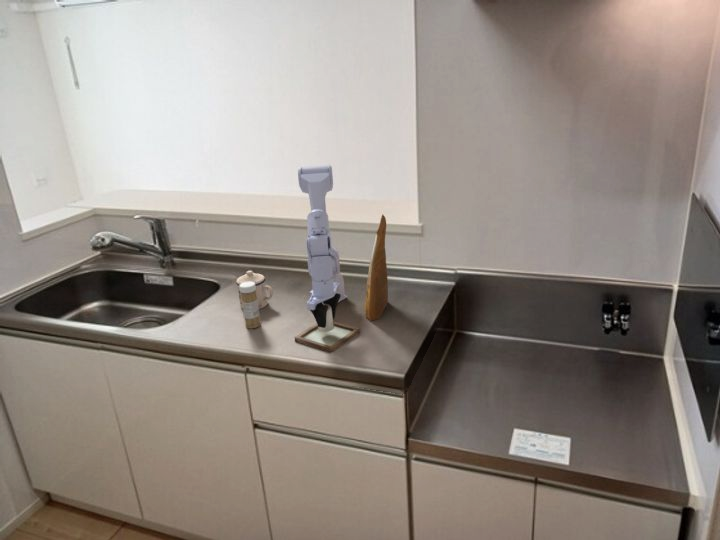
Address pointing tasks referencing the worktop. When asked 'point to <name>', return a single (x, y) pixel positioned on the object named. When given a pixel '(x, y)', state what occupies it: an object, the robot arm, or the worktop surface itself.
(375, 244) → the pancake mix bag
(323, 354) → the worktop surface
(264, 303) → the teacup with lid
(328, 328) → the salt cellar
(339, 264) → the robot arm
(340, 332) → the rest tray
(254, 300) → the sprinkles bottle
